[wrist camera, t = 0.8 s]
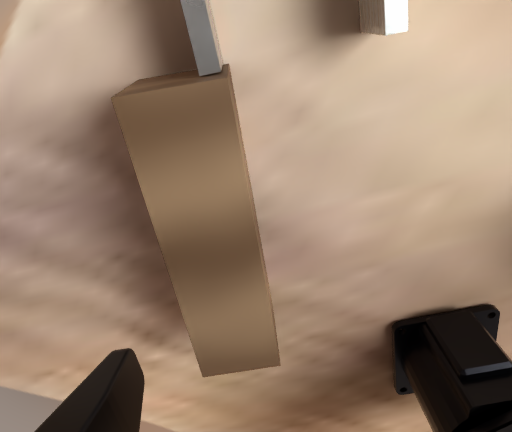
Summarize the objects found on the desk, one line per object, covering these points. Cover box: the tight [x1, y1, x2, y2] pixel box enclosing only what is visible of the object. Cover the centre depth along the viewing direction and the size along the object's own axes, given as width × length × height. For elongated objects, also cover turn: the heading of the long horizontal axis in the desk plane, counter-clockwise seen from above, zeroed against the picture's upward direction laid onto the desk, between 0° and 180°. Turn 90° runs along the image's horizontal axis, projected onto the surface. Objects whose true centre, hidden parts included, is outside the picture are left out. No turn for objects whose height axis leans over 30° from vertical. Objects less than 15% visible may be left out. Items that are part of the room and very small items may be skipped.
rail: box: [111, 64, 280, 377], centre depth 18 cm, size 14×4×4 cm, turn 9°
